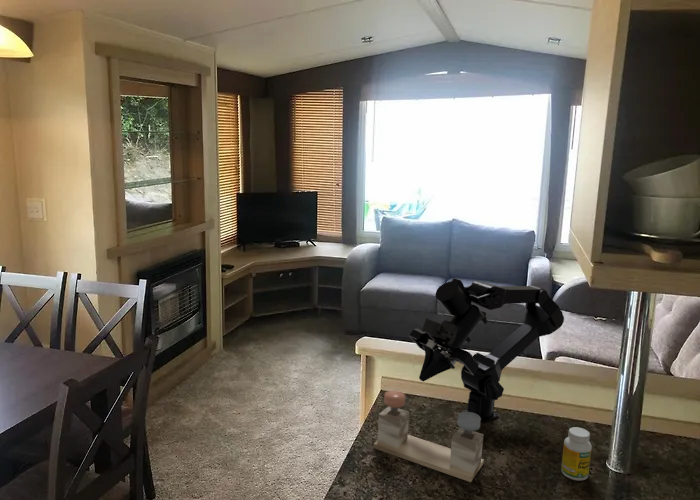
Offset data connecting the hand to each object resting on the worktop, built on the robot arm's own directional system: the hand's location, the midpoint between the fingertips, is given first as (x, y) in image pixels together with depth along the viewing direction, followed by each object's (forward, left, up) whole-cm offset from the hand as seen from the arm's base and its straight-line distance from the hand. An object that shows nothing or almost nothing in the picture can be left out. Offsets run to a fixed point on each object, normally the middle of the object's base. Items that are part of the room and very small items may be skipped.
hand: (420, 380), depth 129 cm
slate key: (+1, +15, -6) cm, 17 cm away
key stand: (+4, +7, -14) cm, 16 cm away
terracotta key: (+7, -1, -6) cm, 10 cm away
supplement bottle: (-16, +30, -14) cm, 37 cm away
